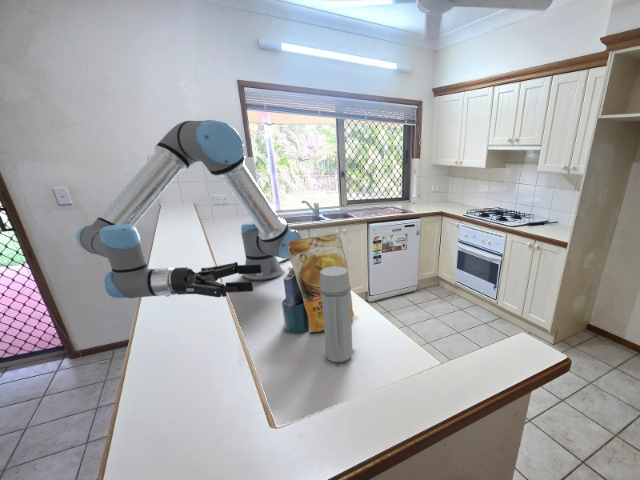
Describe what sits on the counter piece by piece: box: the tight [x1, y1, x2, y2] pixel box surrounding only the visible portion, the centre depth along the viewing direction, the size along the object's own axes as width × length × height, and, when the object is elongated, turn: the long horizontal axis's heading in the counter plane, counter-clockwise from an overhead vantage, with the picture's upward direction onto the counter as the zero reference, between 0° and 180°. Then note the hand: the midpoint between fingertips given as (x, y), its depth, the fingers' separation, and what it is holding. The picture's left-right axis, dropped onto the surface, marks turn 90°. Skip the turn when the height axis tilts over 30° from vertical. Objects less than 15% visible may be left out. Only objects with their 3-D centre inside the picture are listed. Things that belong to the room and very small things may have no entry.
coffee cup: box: [281, 297, 309, 334], centre depth 102 cm, size 8×8×9 cm
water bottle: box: [319, 266, 354, 363], centre depth 84 cm, size 9×8×25 cm
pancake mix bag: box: [286, 233, 355, 333], centre depth 101 cm, size 7×19×28 cm, turn 131°
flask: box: [283, 267, 303, 308], centre depth 98 cm, size 9×3×11 cm, turn 172°
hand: (257, 276), depth 95 cm, fingers open, 13 cm apart
